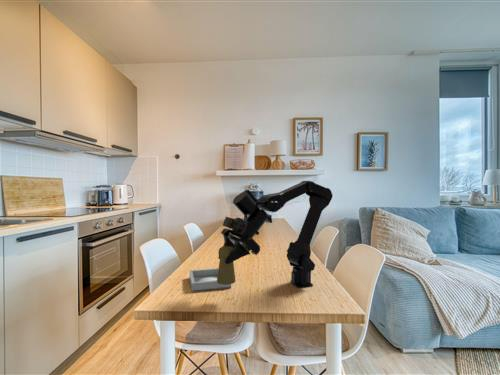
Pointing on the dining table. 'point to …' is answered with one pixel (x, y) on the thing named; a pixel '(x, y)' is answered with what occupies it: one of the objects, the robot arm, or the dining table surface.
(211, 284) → the walled pen
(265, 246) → the dining table surface
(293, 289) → the dining table surface
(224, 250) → the cork
